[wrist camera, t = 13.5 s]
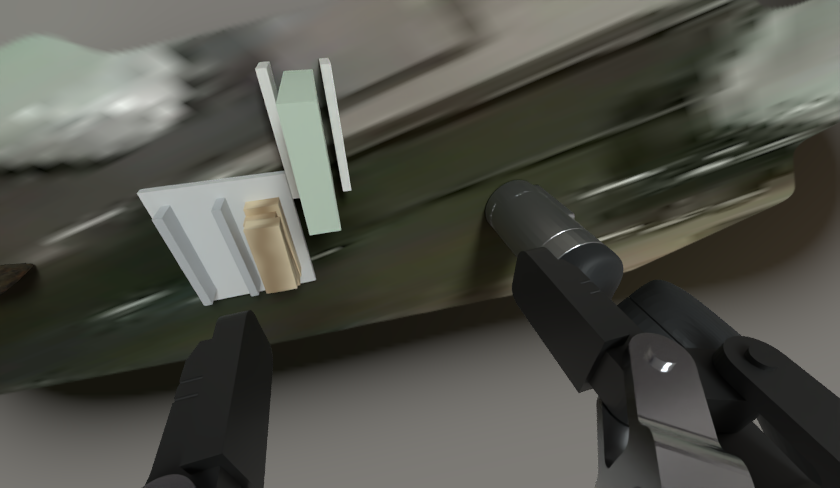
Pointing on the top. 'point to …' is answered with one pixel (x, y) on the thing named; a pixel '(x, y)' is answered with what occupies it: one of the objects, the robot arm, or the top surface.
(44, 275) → the top surface
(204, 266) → the grey rack
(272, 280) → the offcut stack
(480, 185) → the top surface
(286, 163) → the white stand
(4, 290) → the hand tool
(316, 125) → the sage board
